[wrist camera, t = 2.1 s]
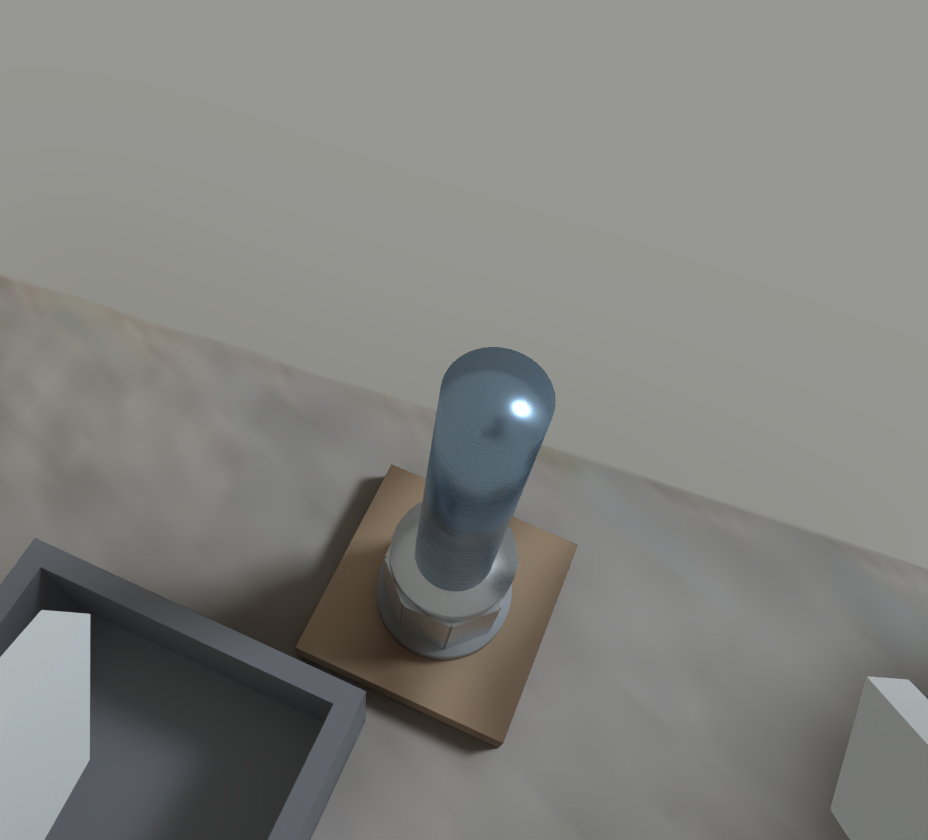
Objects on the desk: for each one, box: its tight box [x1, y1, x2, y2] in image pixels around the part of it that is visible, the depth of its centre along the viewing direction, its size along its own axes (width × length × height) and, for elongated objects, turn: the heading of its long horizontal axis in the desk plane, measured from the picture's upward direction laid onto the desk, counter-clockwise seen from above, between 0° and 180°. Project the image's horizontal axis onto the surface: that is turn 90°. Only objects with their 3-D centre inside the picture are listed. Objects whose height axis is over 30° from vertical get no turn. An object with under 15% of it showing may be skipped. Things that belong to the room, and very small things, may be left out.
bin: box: [0, 538, 366, 840], centre depth 36 cm, size 16×16×7 cm
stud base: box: [295, 464, 577, 748], centre depth 43 cm, size 11×11×6 cm
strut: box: [383, 347, 555, 650], centre depth 35 cm, size 6×6×19 cm
